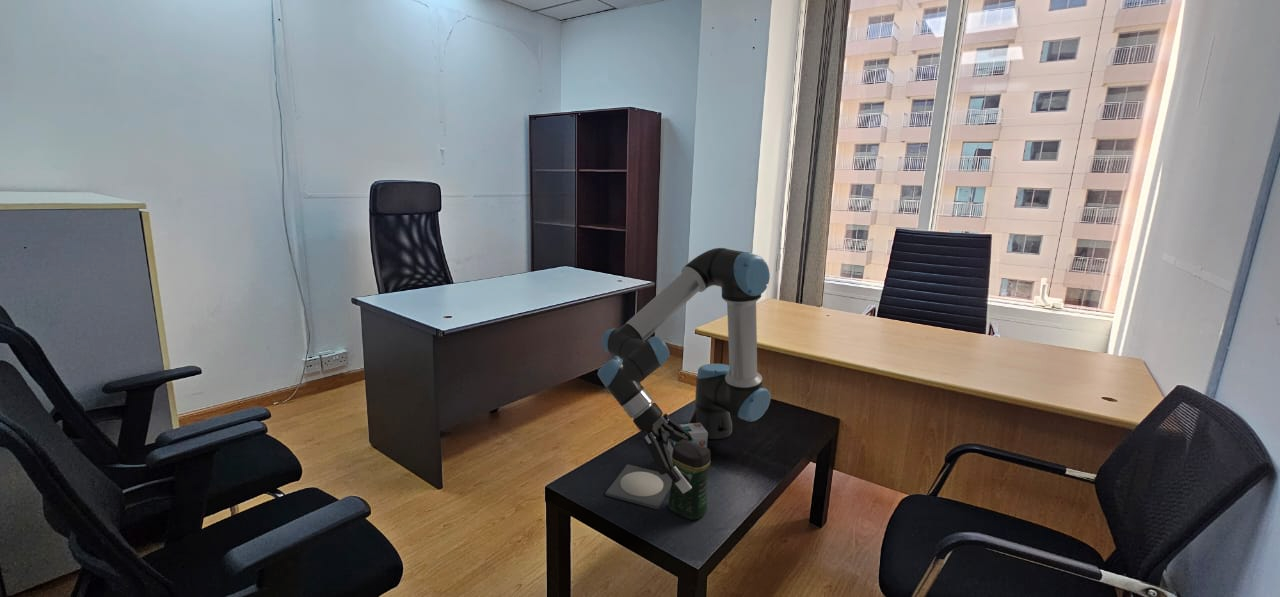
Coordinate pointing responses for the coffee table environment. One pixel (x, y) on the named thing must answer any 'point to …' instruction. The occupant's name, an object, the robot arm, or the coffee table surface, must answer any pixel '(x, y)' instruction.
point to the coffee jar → (690, 479)
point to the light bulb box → (696, 433)
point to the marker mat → (640, 486)
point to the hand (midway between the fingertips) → (694, 476)
